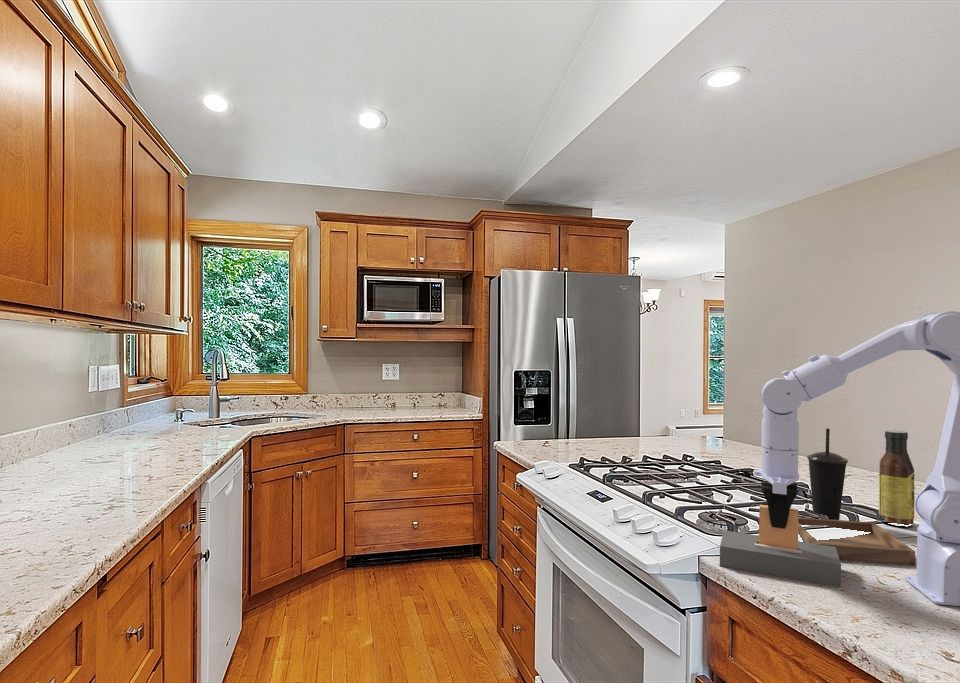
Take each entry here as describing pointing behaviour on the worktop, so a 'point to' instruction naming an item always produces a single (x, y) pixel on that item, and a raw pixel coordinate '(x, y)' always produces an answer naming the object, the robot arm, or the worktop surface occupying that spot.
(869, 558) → the tray
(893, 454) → the sauce bottle
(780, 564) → the dispenser
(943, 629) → the worktop surface
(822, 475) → the drinking cup
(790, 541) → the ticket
